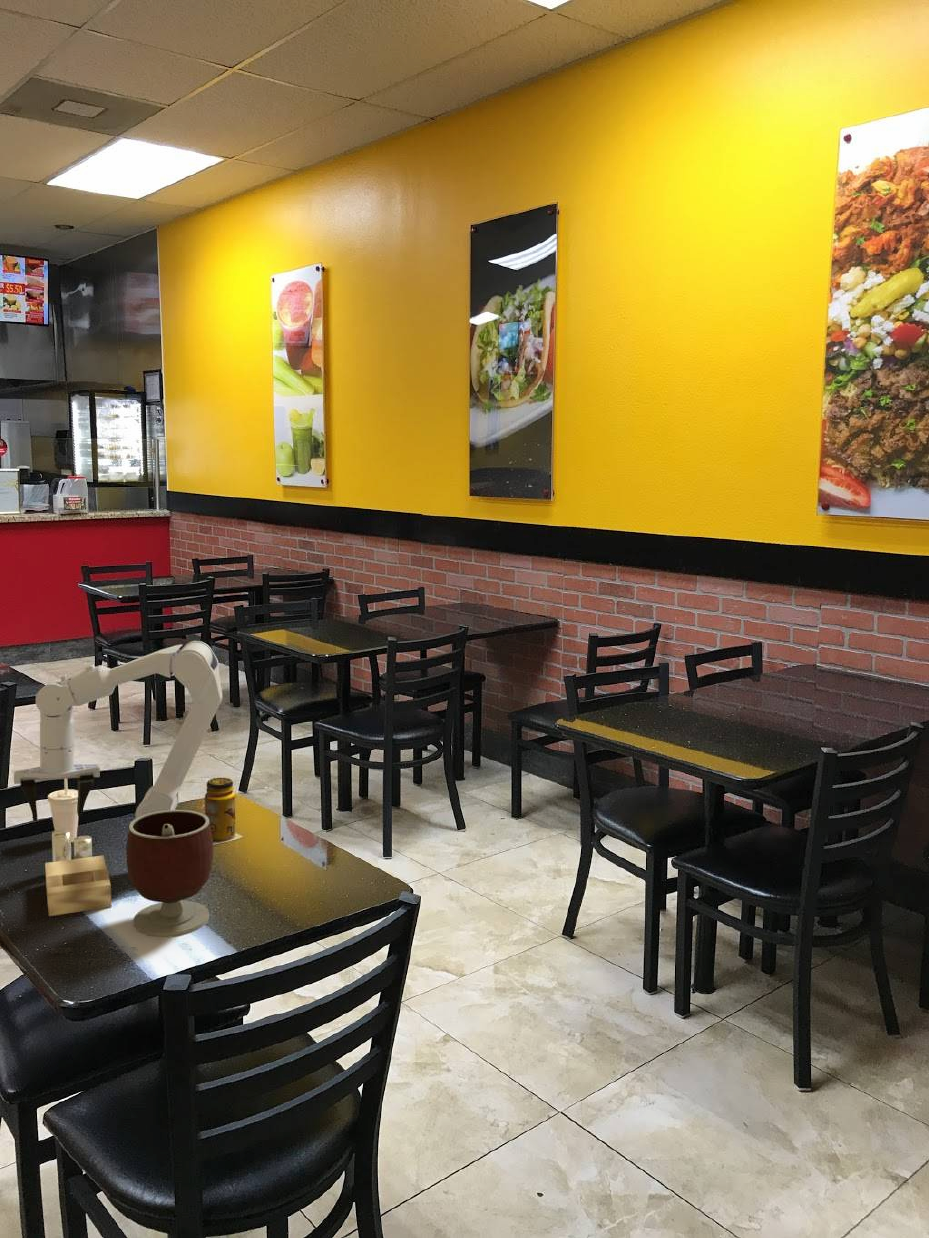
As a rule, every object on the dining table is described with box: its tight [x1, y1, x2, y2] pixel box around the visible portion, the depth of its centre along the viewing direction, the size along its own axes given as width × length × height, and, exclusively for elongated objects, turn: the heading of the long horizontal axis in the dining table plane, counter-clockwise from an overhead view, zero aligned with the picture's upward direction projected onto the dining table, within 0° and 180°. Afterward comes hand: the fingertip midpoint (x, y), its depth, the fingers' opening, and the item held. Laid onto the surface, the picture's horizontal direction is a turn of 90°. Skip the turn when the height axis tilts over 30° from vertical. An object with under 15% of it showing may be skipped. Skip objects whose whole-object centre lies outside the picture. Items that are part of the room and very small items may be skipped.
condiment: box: [204, 777, 244, 846], centre depth 205 cm, size 7×8×12 cm
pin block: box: [44, 855, 112, 917], centre depth 177 cm, size 10×14×4 cm
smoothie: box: [47, 778, 79, 843], centre depth 201 cm, size 6×6×14 cm
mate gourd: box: [125, 809, 214, 938], centre depth 166 cm, size 16×14×20 cm
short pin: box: [73, 835, 93, 859], centre depth 193 cm, size 3×3×4 cm
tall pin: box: [51, 829, 72, 862], centre depth 186 cm, size 3×3×8 cm
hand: (57, 816), depth 185 cm, fingers open, 7 cm apart
